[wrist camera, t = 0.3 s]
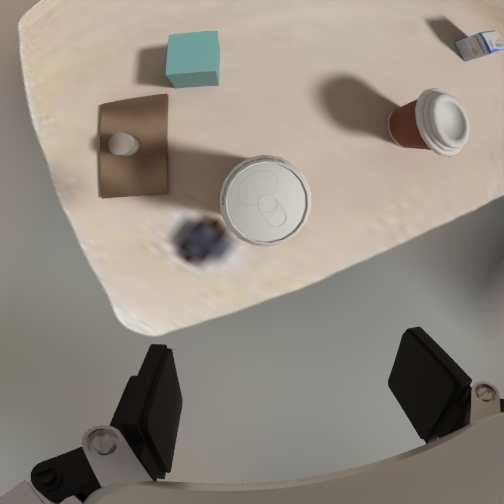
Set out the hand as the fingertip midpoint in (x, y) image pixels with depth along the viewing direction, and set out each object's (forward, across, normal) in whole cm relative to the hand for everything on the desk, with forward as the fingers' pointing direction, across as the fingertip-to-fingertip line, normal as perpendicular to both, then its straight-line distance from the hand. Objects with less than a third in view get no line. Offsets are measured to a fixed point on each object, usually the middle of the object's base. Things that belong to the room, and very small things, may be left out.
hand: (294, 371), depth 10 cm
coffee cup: (+30, -24, -16) cm, 41 cm away
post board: (+30, +16, -12) cm, 36 cm away
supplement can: (+30, -1, -5) cm, 31 cm away
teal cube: (+30, +7, -23) cm, 38 cm away
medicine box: (+30, -44, -37) cm, 65 cm away
